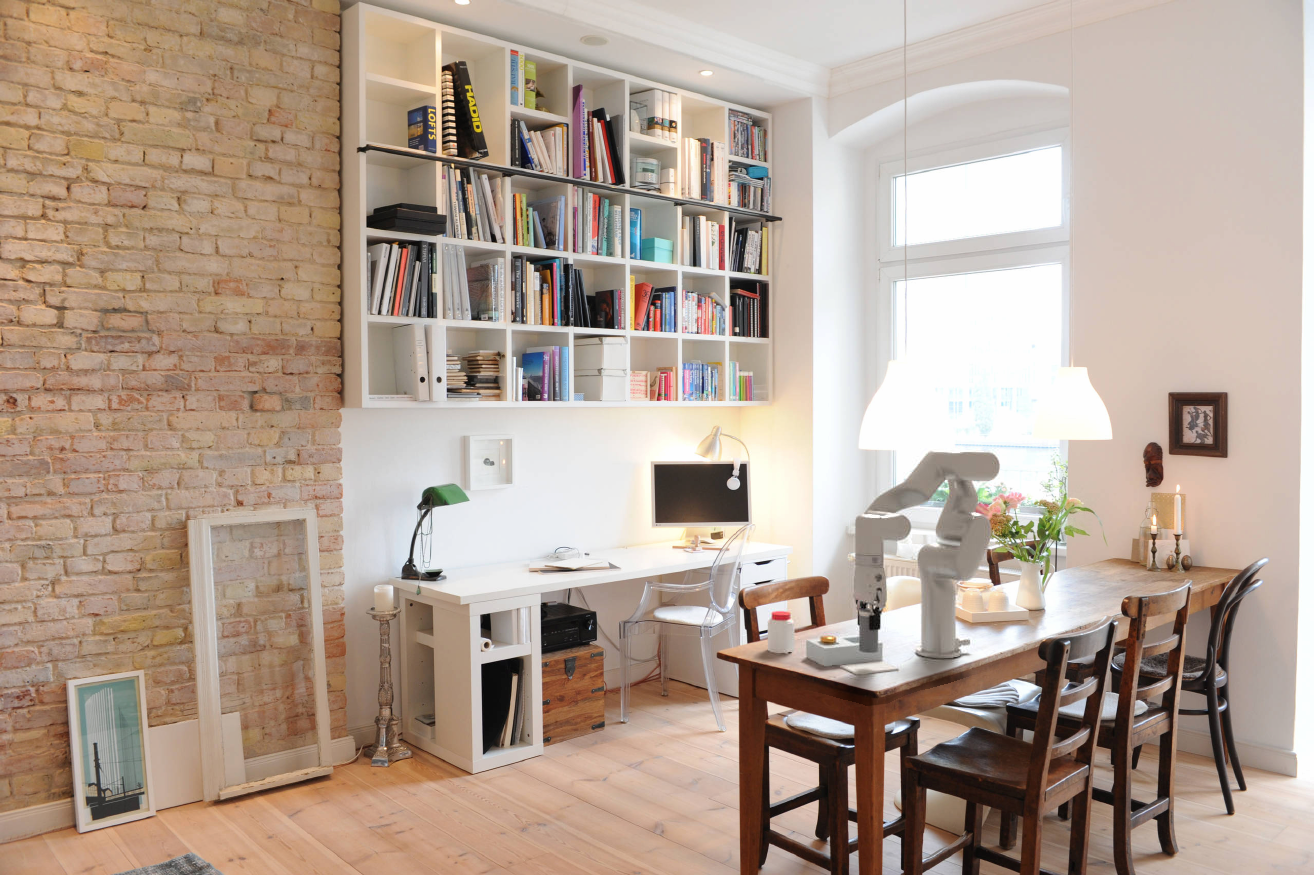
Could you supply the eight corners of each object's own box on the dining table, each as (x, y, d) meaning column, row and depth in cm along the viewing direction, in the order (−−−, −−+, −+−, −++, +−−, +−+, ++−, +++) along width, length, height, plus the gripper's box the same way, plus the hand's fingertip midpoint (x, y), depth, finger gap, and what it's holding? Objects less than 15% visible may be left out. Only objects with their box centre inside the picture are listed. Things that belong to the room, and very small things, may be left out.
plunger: (831, 656, 287) (831, 635, 287) (839, 660, 283) (839, 638, 283) (817, 657, 285) (817, 636, 285) (825, 661, 281) (825, 639, 281)
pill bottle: (792, 647, 300) (791, 610, 300) (796, 653, 293) (796, 615, 292) (766, 647, 300) (765, 610, 300) (769, 653, 292) (769, 616, 292)
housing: (862, 651, 294) (861, 634, 294) (882, 660, 284) (882, 642, 283) (806, 657, 288) (806, 639, 288) (825, 666, 278) (825, 648, 277)
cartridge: (871, 647, 278) (872, 607, 277) (882, 652, 273) (882, 611, 273) (855, 649, 276) (855, 608, 276) (865, 653, 271) (865, 612, 271)
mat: (881, 662, 281) (881, 661, 281) (898, 670, 273) (898, 668, 273) (840, 667, 277) (840, 665, 277) (856, 674, 269) (856, 673, 269)
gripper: (898, 564, 267) (898, 633, 267) (864, 555, 283) (864, 620, 284) (873, 565, 264) (873, 635, 265) (841, 556, 281) (840, 622, 281)
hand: (868, 626), depth 274 cm, fingers closed on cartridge, 5 cm apart
